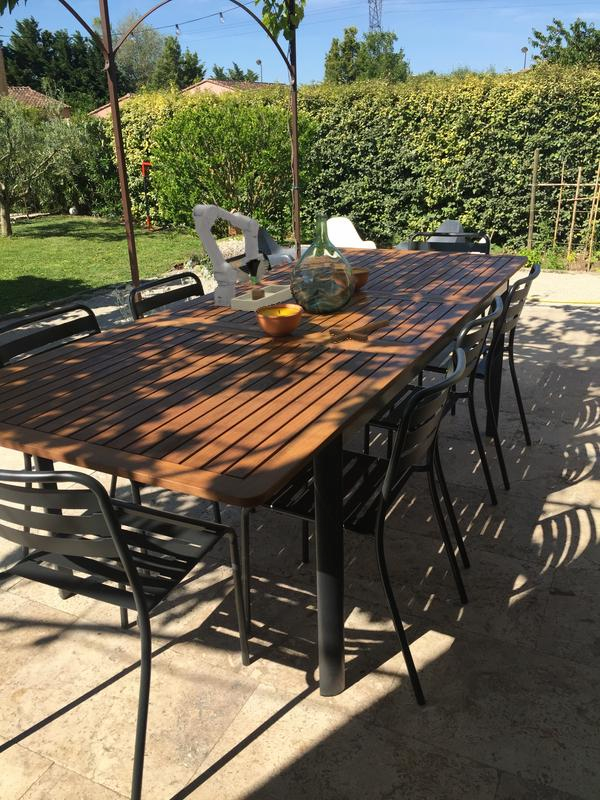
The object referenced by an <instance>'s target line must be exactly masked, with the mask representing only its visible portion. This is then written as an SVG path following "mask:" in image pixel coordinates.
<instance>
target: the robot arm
mask: <svg viewBox="0 0 600 800" xmlns="http://www.w3.org/2000/svg"><path fill="white" fill-rule="evenodd" d="M191 215H192V218H193V220H194V226H195V232H196V234H197V236H198V238H199V240H200V243H202V246H203V247H204V249H205V252H206V253H207V255H208V257H209V260H210V261H211V264H212V265H213V267H212V268H211V271H212V275H213V279H214V280H215V282H216V284H217V286H216V287H215V288H214V289H213V296H214V297H213V298H214V304H213V306H216V307H228V308H229V307H231V299H233V298H236V288H235V287H236V286H235V284H236V281H237V273H236V271H235V269H233V268H232V267H233V266H231V265H232V264H231V265H229V264H230V263H228V262H227V261H226V260H225V258H224V256H223V253H222V251H221V249H220V248H219V245H218V244H217V242H216V239H215V237H214V235H213V234H212V231H211V228H212V227H213V225H214V223H215V222H216V220H217V219H218V218H220V219H223V220H226V221H229V222H230V225H231V226H234V227H236V228H237V229H241V231H242V232H243V236H244V247H245V248H244V249H245V256H244V257H242V258H241V264H245V265H246V267H247V269H248V271H249V275H250V274H251V277H256V276H257V270H258V266H259V264H260V260H259V259H260V258H262V259H264V253H259V243H258V234H259V230H260V224H259V222H258V220H257V219H256V218H250V216H249V215H244V214H242V212H240V211H237V212H234V213H233V212H230V211H229V210H226V209H223V208H222V207H220V206H218V205H214V204H200V203H198V204H196V205H195V206H194V207H193V210H192V213H191ZM257 259H258V260H257Z"/></svg>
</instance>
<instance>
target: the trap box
mask: <svg viewBox="0 0 600 800" xmlns="http://www.w3.org/2000/svg"><path fill="white" fill-rule="evenodd" d="M290 286H291V285H278V284H269V285H267V286H264V287H260V289H263V290H264V291H265V297H264V298H261V299H259V300H252V291H250V292H247V293H244V294H242V295H241V294H240V295H239V296H237V297H236V296H235V297H236V298H233V299H231V306H230V308H231V310H232V311H239V310H242V312H250V311H254V312H253V313H257V312H256V310H257V309H258V308H260V307H263V306H268V305H271V304H275V305H277V304H276V303H278V302H280V303H283V302H284V301H287V300H290V299H292V298H293V297H292V294H291V290H290ZM282 301H283V302H282ZM278 304H279V303H278Z"/></svg>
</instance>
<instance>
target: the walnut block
mask: <svg viewBox="0 0 600 800" xmlns="http://www.w3.org/2000/svg"><path fill="white" fill-rule="evenodd" d="M251 292H252V300H259V299H261V298H264V297H265V291H264V290H263V289H261V288H255V289H252V290H251Z"/></svg>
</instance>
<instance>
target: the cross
mask: <svg viewBox="0 0 600 800" xmlns="http://www.w3.org/2000/svg"><path fill="white" fill-rule="evenodd" d="M389 325H390V320H389V319H384V318H383V319H381V320H378V321H374V322H372V323H369V324H365V325H362V326H359V327H357V328H354V329H352V330H343V329H337V328H330V329H329V330H328V335H329V334H334V335H336V336H333V335H332V336H330V339H329V340H330V341H331V342H338V341H341V340H344V339H347V338H351V339H350V340H352V339H354V340H353V341H356V340H358V341H357V342H361V341H363V342H362V343H365V342H364V341H366V342H368V341H369V335H367V334H366V332H367V333H369V331H370V332H373V331H375V329H376V330H378V329H381V328H384V327H387V326H389ZM372 330H373V331H372ZM363 333H364V334H363ZM347 340H348V339H347ZM367 340H368V341H367ZM344 341H345V340H344ZM331 342H330V343H331ZM341 342H342V341H341ZM338 343H339V342H338Z"/></svg>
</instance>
